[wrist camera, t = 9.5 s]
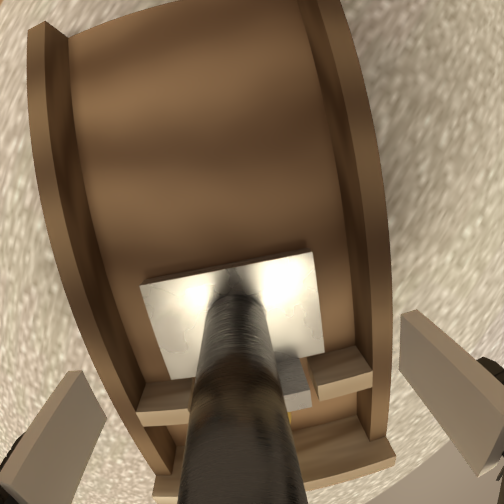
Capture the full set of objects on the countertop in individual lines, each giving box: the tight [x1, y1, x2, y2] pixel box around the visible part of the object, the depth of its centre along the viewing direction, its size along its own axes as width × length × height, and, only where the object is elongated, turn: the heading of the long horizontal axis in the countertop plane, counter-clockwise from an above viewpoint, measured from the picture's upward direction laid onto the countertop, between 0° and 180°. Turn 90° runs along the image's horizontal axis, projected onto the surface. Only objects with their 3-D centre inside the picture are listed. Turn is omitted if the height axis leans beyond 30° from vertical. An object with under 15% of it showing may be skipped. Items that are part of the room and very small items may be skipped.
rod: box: [139, 248, 325, 504], centre depth 11 cm, size 7×9×14 cm
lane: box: [27, 0, 396, 504], centre depth 15 cm, size 30×16×6 cm, turn 11°
